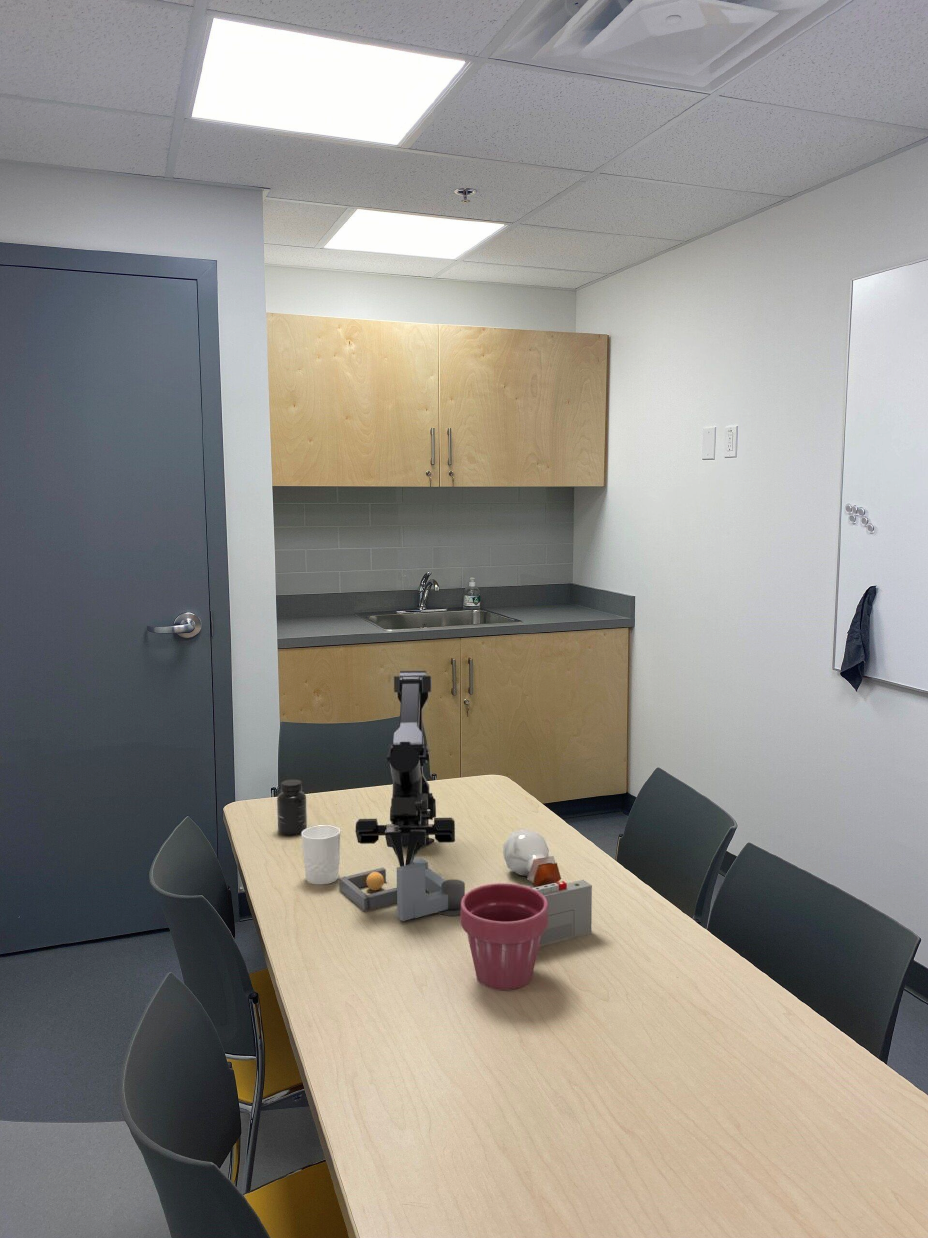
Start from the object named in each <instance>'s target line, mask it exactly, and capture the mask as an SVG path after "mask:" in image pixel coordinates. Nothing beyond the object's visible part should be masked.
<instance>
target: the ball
mask: <svg viewBox="0 0 928 1238" xmlns="http://www.w3.org/2000/svg"><path fill="white" fill-rule="evenodd" d="M366 883H367V886H366V887H368V888H369V889H370V890H371V891H378V890H381V889H382V887H383V886H384V883H385V881H384V878H383V876H382V875H381V874H380V873H378V872H373V873H371V874H369V875H368V877H367V880H366Z"/></svg>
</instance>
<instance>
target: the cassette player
mask: <svg viewBox="0 0 928 1238" xmlns="http://www.w3.org/2000/svg"><path fill="white" fill-rule="evenodd" d="M592 887H593V885H592V884H591V883H589V882H588V881H586V880H584V879H580V880H577V881H572V882H568V883H567V882H566V881H564V880H562V881H558V882H557V883H552V884H548V885H544V886H539V887H537V886H535V887H532V889H534V890H537V891H538V892H540V893H541V894H543V895H544V896H545V898H546V899H547V902H548V926H547V928H546V930H545V931H544V932H543V933H542V934H541V940H540V944H539V947H543V946H546V945H547V946H548V945H550V944H554V943H558V942H562V941H565V940H569V939H574V938H577V937H578V938H579V937H581V936H584V935H588V934H589V935H590V934H592V916H593V915H592V914H593V913H592V911H593V909H592V907H593V906H592V905H593V901H592V900H593V896H592V895H593V890H592V889H593V888H592Z"/></svg>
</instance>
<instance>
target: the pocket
mask: <svg viewBox="0 0 928 1238" xmlns="http://www.w3.org/2000/svg"><path fill="white" fill-rule="evenodd" d="M373 872H378V873H380V874H381V875H382V876H383V878H384V882H386V881H387V874H386V873H387V871H386V868H384V867H380V868H375V869H371V870H367V871H362V872H358V873H355V874H352V875H351V874H350V875H347V876H343V877H339V878H338V880H339V881H338V884H339V885H338V886H339V888H338V889H339V891H340V892H341V893H342V894H343V895H344V896H346V897H347V898H348V899H349V900H351V902H353V903H354V904H355V905H356V906H358V908H360V909H361V910H362V911H363V912H368V911H371V910H375V909H379V908H383V907H386V906H389V905H393V904H397V886H396V887H393V888H390V889H389V888H388V889H385V890H382V891H378V892H377V891H376V892H373V893H370V894H369V893H368V894H366V893H365V892H364V891H363V890H362V889H361V888H364V887H368V886H367V883H366V880H367V877H368V875H369V874H371V873H373Z"/></svg>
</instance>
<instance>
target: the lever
mask: <svg viewBox="0 0 928 1238" xmlns="http://www.w3.org/2000/svg"><path fill="white" fill-rule="evenodd" d="M404 865H405V864H404ZM396 887H397V903H396V904H397V907H396V908H397V911H396V912H397V913H396V914H397V918H398V919H400V920H401V921H402V922H405V921H407V920H411V919H417V918H421V917H424V916H428V915H432V914H434V913H435V914H436V913H438V912H439V911H443V910H446V909H460V908H461V900H462V898H463V896H464V895H465V894H466V887H465V882H464V881H463V880H460V879H445V878H443V877H442V876H440V875H439V874H438V873H436V872H435V871H433V870H432V869H430V868H429V862H428V861H427V860H426V859H425V858H422V857H421V856H420V857H415V858H414V860H413V862H412V864H410V865H405V866H401V867H400V866H398V867H396ZM426 892H428V893H426Z"/></svg>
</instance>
